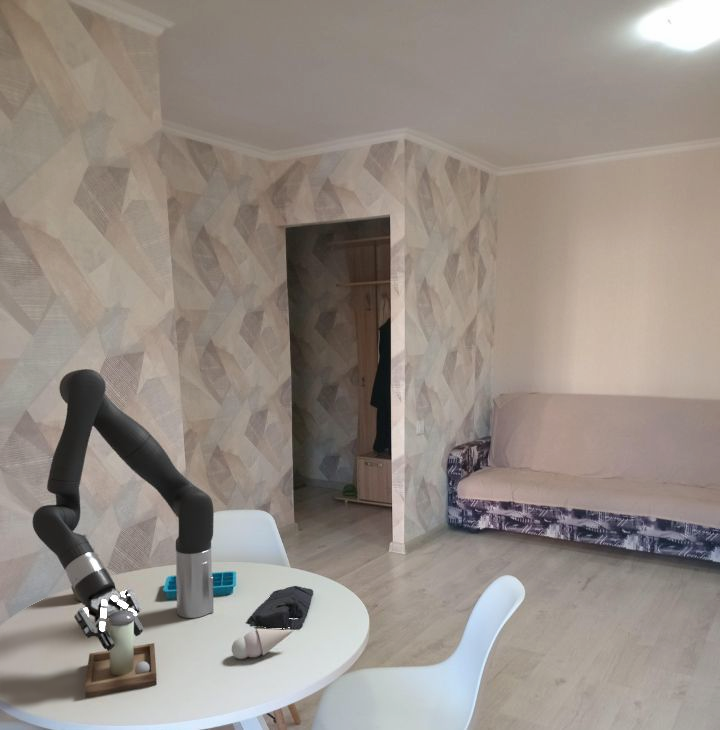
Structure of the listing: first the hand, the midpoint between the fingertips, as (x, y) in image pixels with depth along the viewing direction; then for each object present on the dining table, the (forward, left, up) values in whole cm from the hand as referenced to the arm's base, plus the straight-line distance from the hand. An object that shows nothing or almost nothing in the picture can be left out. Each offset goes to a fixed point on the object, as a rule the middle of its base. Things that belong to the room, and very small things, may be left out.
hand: (126, 640), depth 139 cm
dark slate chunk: (-40, -20, -9) cm, 45 cm away
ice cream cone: (-30, +1, -8) cm, 31 cm away
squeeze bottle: (+11, -48, -8) cm, 50 cm away
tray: (+1, -1, -8) cm, 8 cm away
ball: (-3, +3, -5) cm, 7 cm away
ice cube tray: (-20, -42, -9) cm, 47 cm away
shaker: (+1, -1, -7) cm, 7 cm away
